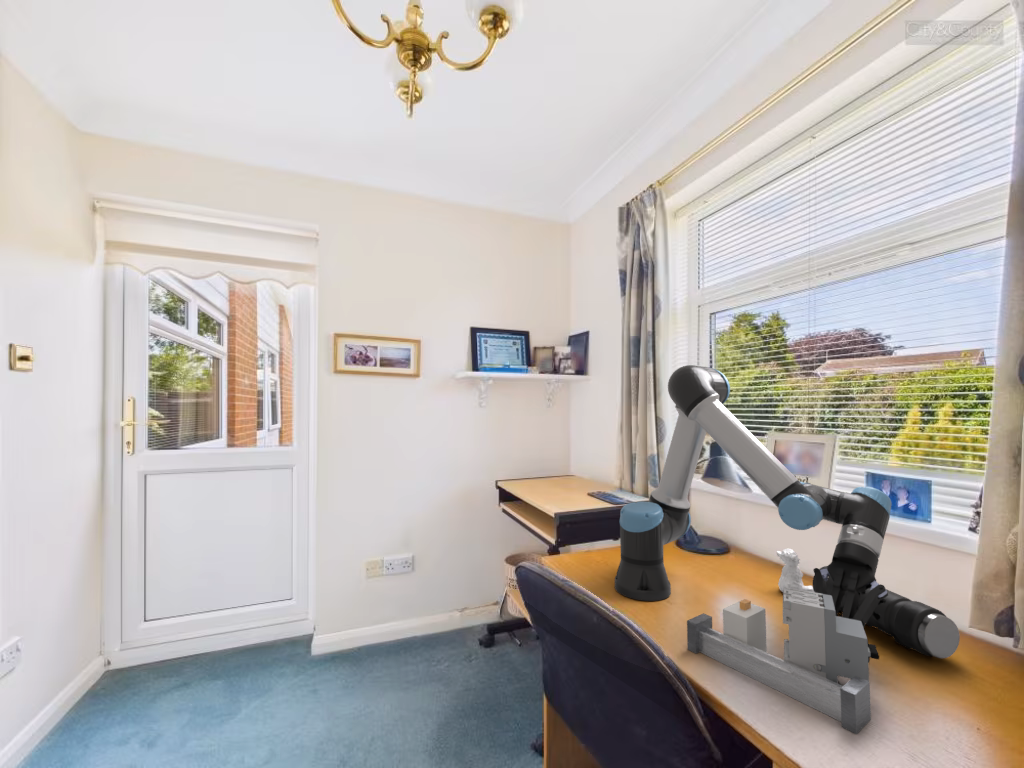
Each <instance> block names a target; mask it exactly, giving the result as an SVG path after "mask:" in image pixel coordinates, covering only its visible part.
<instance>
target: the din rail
mask: <svg viewBox="0 0 1024 768" xmlns="http://www.w3.org/2000/svg"><path fill="white" fill-rule="evenodd" d="M686 632H687V634H686V636H687V637H686V638H687V639H686V641H687V650H688V651H690V652H692V653H694V654H696V655H697V654H698V653H701V654H702V655H705V656H706V657H709V658H711V659H713V660H715V661H716V662H718V663H721V664H723V665H725V666H727V667H729V668H732V669H733V670H735V671H738V672H739V673H741V674H743V675H746V676H747V677H749V678H751V679H753V680H755V681H757V682H760V683H761V684H764V685H766V686H767V687H770V688H772V689H773V690H775V691H778V692H779V693H781V694H783V695H786V696H788V697H790V698H792V699H794V700H795V701H798V702H800V703H802V704H804V705H805V706H807V707H810V708H812V709H814V710H816V711H818V712H820V713H823V714H824V715H826V716H828V717H830V718H833V719H835V720H837V721H838V722H840V723H841V728H843V729H845V730H847V731H849V732H851V733H853V734H855V735H858V734H859V732H860V731H861V730H863V729H864V727H865V726H867V724H869V722H870V721H871V720H872V713H871V691H870V690H871V689H870V688H871V687H870V680H869V681H866V680H864V679H862V678H859V677H857V676H854V677H853V678H852V679H849V680H848V681H847V682H846V683H845V684H843V685H842V684H840V683H835V682H833V681H831V680H828V679H826V678H824V677H821V676H819V675H817V674H815V673H812V672H810V671H808V670H805V669H803V668H801V667H799V666H796V665H794V664H792V663H789V662H787V661H785V660H784V658H783V659H782V658H780V657H778V656H775V655H773V654H770V653H769V652H767V653H766V652H764V651H762V650H760V649H757V648H755V647H753V646H750V645H748V644H746V643H744V642H741V641H739V640H737V639H734V638H732V637H730V636H728V635H725V634H723V632H720V631H719V630H716V629H714V628H713V616H711V615H709V614H707V613H701V614H699V615H696V616H694V617H692V618H690V619H687V620H686Z"/></svg>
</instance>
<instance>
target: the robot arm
mask: <svg viewBox="0 0 1024 768" xmlns="http://www.w3.org/2000/svg"><path fill="white" fill-rule="evenodd" d="M667 392H668V395H669V397H670V399H671V400H672V402H673V403H674V404H675V406H674V407H675V410H676V411H677V412H678V416H677V419H676V423H675V426H674V430H673V434H672V436H671V437H672V438H671V441H670V445H669V447H668V450H667V451H668V452H667V455H666V458H665V462H664V466H663V470H662V472H661V476H660V481H659V484H658V487H657V488H655V489H654V490H651V493H650V494H649V499H648V501H637V502H635V501H634V502H629V503H626V504H625V505H623V506H622V507H621V509H620V516H619V537H620V538H619V539H620V560H619V564H618V568H617V572H616V575H615V577H614V589H615V591H616V592H617V593H618V594H620V595H622V596H623V597H627V598H630V599H633V600H637V601H645V602H653V601H657V602H658V601H661V600H665V599H668V598H669V597H670V596H671V594H672V591H671V589H672V588H671V582H670V580H669V577H668V573H667V570H666V567H665V564H664V561H665V560H664V546H665V545H668V544H670V543H672V542H674V541H676V540H677V541H678V540H679V539H682V537H684V535H686V533H687V532H688V531H689V529H690V527H691V522H692V520H691V519H692V517H691V514H690V509H691V503H690V501H689V499H688V496H689V494H690V489H691V486H692V483H693V480H694V476H695V472H696V469H697V465H698V461H699V458H700V455H701V452H702V449H703V445H704V441H705V439H706V435H707V434H708V435H709V437H711V438H712V439H713V440H714V441H715V443H716V444H717V445H718V446H719V447H720V448H721V449H722V450H723V451H724V452H725V453H726V454H727V455H728V456H729V458H731V460H732V461H733V462H734V463H736V466H738V467H739V468H740V469H741V470H742V471H743V472H744V473H745V474H746V476H748V477H749V479H750V480H751V481H752V482H753V483H754V484H755V485H756V487H758V489H760V490H761V492H762V493H764V494H765V496H767V498H768V499H769V500H770V501H771V502H772V503H773V504H774V505H775V506H776V508H777V511H778V515H779V517H780V519H781V521H782V522H783V523H784V524H785V525H786V526H788V527H789V528H792V529H794V530H797V531H806V530H809V529H812V528H815V527H817V526H818V525H819V524H820V522H821V521H827V522H830V523H831V522H832V523H835V524H838V525H841V529H840V532H839V536H838V538H837V543H836V545H835V549H834V552H833V555H832V558H831V562H830V563H829V564H827V565H826V566H827V569H822V570H819V569H820V568H817V567H815V568H813V571H812V572H813V573H814V575H815V576H816V593H821V594H826V595H827V587H826V582H825V581H827V579H828V576H829V575H830V576H831V578H832V580H833V582H834V583H833V590H832V593H831V596H832V598H833V603H834V607H835V611H836V616H838V617H839V613H840V611H839V609H840V606H841V602H842V599H843V596H844V595H845V592H846V591H848V593H847V597H846V601H845V605H844V609H843V612H841V616H840V617H843V618H848V619H853V620H858V621H861V622H862V625H863V628H865V626H866V625H867V624H866V623H867V621H868V620H869V618H870V617H871V615H872V613H873V612H874V610H875V608H876V607H877V605H878V603H879V602H880V601H881V600H882V599H884V598H885V597H887V596H888V593H887V591H886V587H885V585H884V584H880V583H879V582H878V581H877V579H876V577H875V576H876V572H877V568H878V565H879V558H880V556H881V553H882V547H883V544H884V538H885V536H886V532H887V530H888V526H889V521H890V517H891V516H890V515H891V512H892V511H891V510H892V505H893V504H892V499H891V498H890V496H888V495H887V493H885V492H883V491H882V490H881V489H878V488H875V487H872V486H865V487H864V486H858V487H855V488H854V489H853V490H852V492H851V493H849V492H844V491H841V490H840V491H839V490H835V489H831V488H828V487H825V486H820V485H816V484H812V483H811V482H804V481H800V480H799V479H798V478H797V477H796V476H795V475H794V474H793V473H792V472H791V471H790V470H789V469H788V468H787V467H786V466H785V465H784V464H783V463H782V462H781V461H780V460H779V459H778V458H777V457H776V456H775V455H774V454H773V453H772V452H771V451H770V450H769V449H768V448H767V447H766V446H765V445H764V444H763V443H762V442H761V441H760V440H759V439H758V438H757V437H756V436H755V435H754V434H753V433H752V432H751V431H750V430H749V429H748V428H747V427H746V426H745V425H744V424H743V423H742V422H741V421H740V420H739V419H738V418H737V417H736V416H735V415H734V414H733V413H732V411H730V410H729V409H728V408H727V407H726V406H725V405H724V404H725V403H726V402H727V400H728V398H729V396H730V394H731V386H730V382H729V380H728V378H727V376H726V375H725V374H724V373H722V372H721V371H719V370H718V369H716V368H712V367H708V366H700V365H699V366H698V365H695V364H693V365H692V364H690V365H689V364H687V365H684V366H681V367H679V368H677V369H676V370H674V372H672V373H671V375H670V377H669V378H668V382H667ZM870 587H871V591H870V592H869V593H868V595H867V596H866V598H865V600H864V601H863V603H862V604H861V606H860V608H859V609H858V611H857V612H856V608H857V604H858V600H859V599H860V596H861V593H862V592H863V591H865V590H867V589H869V588H870ZM855 612H856V614H855Z"/></svg>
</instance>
